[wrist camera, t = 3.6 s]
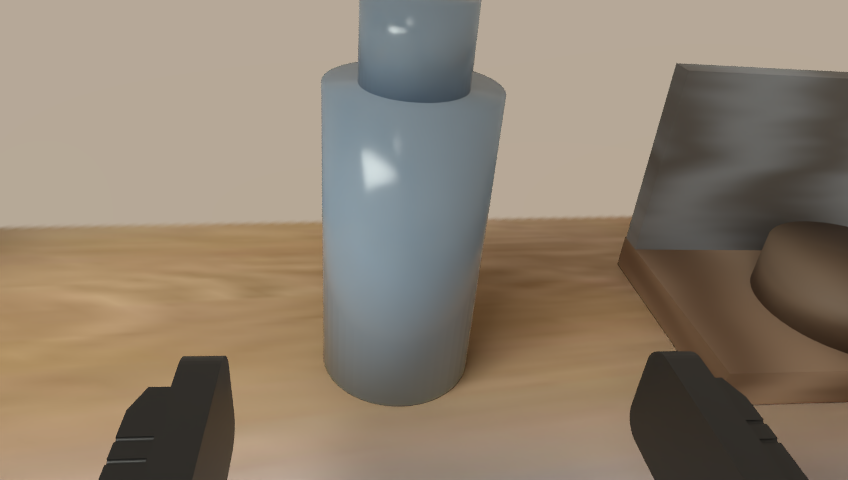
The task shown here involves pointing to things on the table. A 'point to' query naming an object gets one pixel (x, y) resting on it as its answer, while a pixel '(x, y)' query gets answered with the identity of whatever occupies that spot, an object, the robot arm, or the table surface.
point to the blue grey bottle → (405, 199)
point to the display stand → (750, 228)
